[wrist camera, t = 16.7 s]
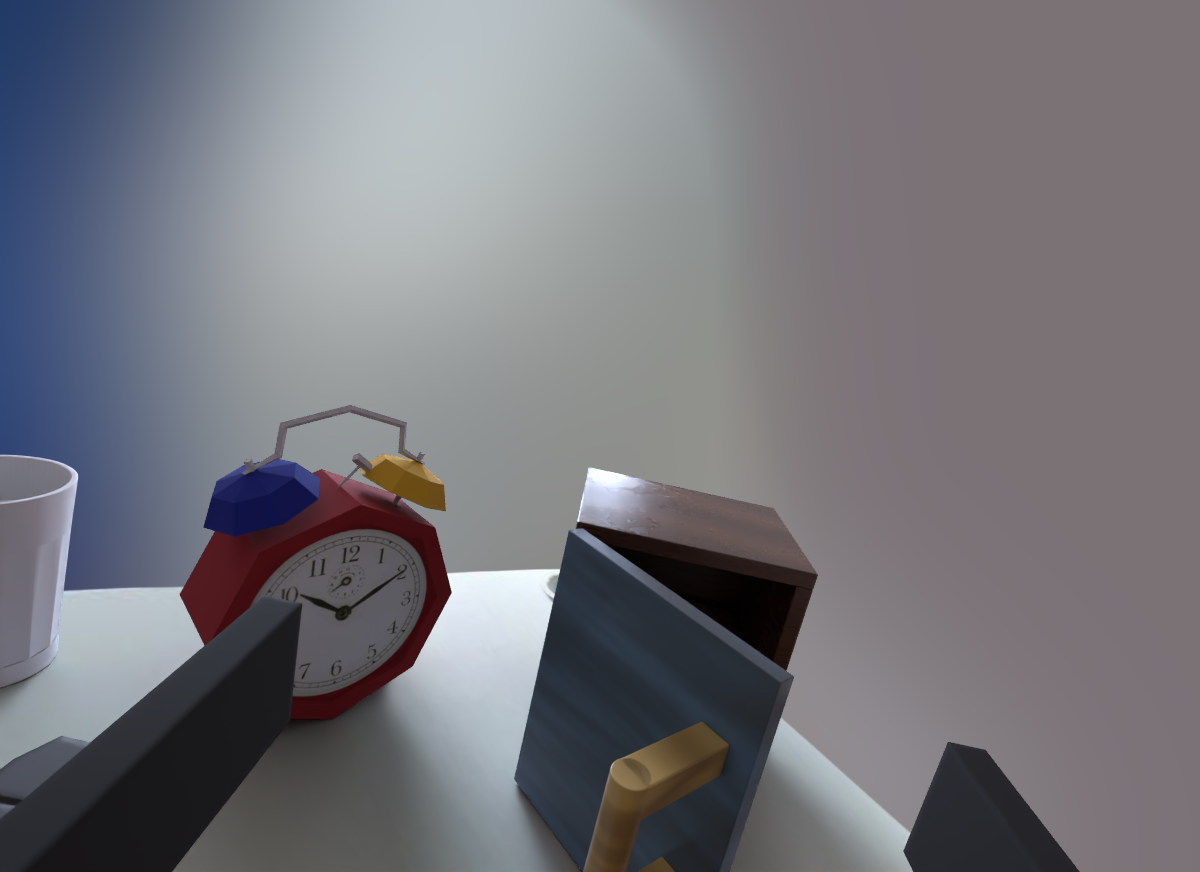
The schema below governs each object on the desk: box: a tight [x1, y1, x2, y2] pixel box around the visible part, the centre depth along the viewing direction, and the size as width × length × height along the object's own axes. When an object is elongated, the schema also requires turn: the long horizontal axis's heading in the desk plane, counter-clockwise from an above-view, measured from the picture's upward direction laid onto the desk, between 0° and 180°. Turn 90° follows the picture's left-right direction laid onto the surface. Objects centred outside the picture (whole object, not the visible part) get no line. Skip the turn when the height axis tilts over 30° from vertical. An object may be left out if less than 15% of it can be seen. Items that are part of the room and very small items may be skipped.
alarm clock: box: [180, 405, 452, 719], centre depth 40 cm, size 15×9×20 cm, turn 135°
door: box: [514, 529, 794, 872], centre depth 29 cm, size 7×14×17 cm, turn 40°
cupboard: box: [576, 468, 818, 671], centre depth 42 cm, size 11×14×17 cm
